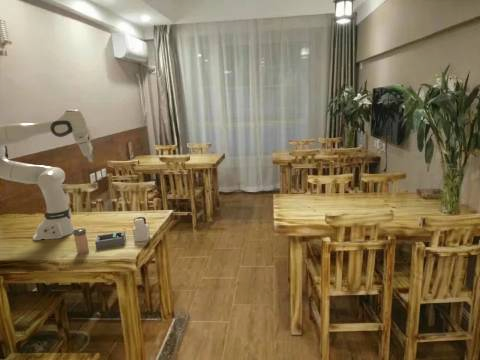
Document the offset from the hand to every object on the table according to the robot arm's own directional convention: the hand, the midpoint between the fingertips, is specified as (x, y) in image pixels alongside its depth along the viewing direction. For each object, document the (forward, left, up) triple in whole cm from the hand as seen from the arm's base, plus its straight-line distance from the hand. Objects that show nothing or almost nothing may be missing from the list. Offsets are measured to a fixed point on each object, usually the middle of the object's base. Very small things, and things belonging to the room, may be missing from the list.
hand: (92, 160), depth 202 cm
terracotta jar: (-5, -35, -42) cm, 55 cm away
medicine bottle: (+24, -28, -42) cm, 56 cm away
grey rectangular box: (+8, -28, -42) cm, 51 cm away
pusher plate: (+11, -28, -41) cm, 50 cm away
